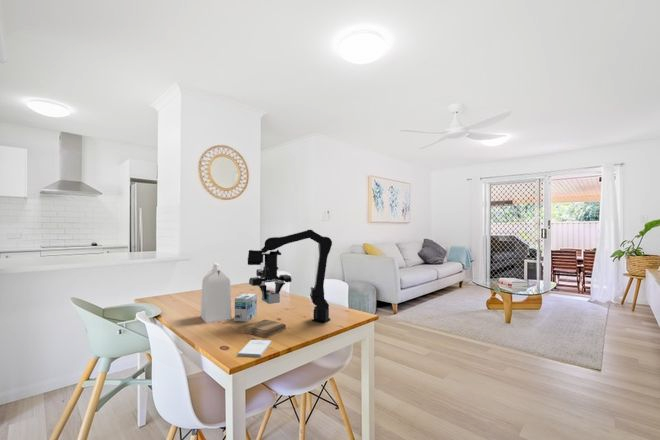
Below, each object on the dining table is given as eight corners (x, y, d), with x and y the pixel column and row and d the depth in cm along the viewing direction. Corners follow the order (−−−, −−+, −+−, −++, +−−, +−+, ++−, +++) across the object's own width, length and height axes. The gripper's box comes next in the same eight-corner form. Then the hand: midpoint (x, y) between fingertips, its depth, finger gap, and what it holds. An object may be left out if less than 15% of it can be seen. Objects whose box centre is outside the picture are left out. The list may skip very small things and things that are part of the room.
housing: (279, 302, 134) (279, 292, 134) (269, 304, 131) (269, 293, 131) (271, 298, 141) (271, 288, 141) (261, 299, 138) (261, 289, 138)
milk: (231, 318, 141) (232, 264, 142) (206, 323, 135) (206, 266, 135) (224, 312, 151) (225, 261, 152) (200, 316, 145) (201, 263, 145)
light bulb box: (247, 322, 136) (247, 298, 137) (233, 321, 138) (234, 298, 138) (257, 315, 147) (257, 293, 147) (244, 314, 148) (245, 293, 149)
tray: (285, 329, 127) (285, 323, 128) (266, 337, 117) (266, 331, 117) (264, 324, 134) (264, 318, 134) (244, 332, 123) (244, 326, 123)
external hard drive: (237, 357, 101) (250, 343, 113) (260, 359, 100) (271, 344, 112) (237, 353, 101) (250, 339, 113) (260, 354, 100) (271, 340, 112)
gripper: (282, 261, 148) (281, 293, 148) (245, 264, 138) (244, 297, 137) (292, 264, 139) (291, 297, 139) (253, 266, 129) (253, 303, 128)
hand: (270, 298), depth 136 cm, fingers closed on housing, 5 cm apart
